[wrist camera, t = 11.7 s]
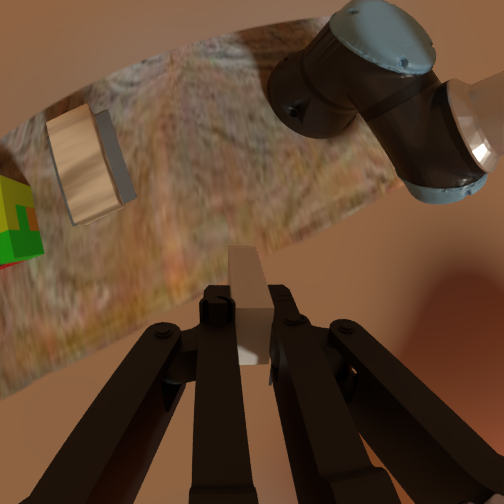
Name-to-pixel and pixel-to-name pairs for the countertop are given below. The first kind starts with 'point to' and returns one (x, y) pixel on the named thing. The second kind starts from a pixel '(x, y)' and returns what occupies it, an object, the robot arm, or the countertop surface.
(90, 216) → the beech block
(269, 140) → the countertop surface
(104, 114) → the rubber mat
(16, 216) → the puzzle toy
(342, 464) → the robot arm
